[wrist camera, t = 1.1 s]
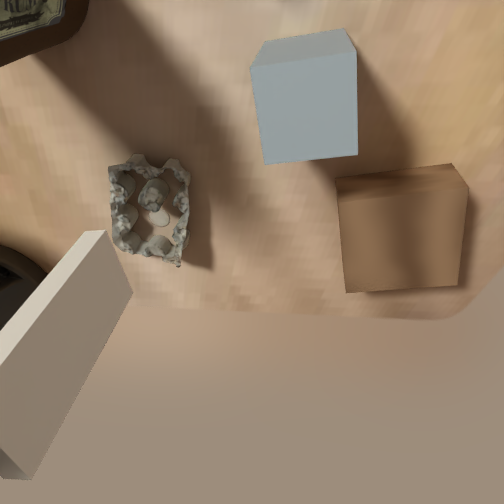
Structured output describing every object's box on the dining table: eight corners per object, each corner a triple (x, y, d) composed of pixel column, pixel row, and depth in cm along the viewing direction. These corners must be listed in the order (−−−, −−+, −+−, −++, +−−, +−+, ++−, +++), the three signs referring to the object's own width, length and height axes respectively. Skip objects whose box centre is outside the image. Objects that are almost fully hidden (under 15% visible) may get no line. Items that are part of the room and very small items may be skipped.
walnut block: (342, 262, 43) (346, 293, 39) (335, 176, 37) (338, 202, 33) (442, 253, 41) (457, 285, 37) (450, 161, 35) (469, 187, 31)
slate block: (274, 118, 35) (264, 165, 26) (264, 41, 31) (249, 67, 23) (346, 109, 33) (357, 154, 25) (343, 28, 30) (356, 51, 22)
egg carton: (191, 249, 44) (181, 273, 41) (124, 236, 44) (109, 259, 41) (198, 160, 38) (187, 179, 35) (120, 145, 38) (102, 163, 35)
